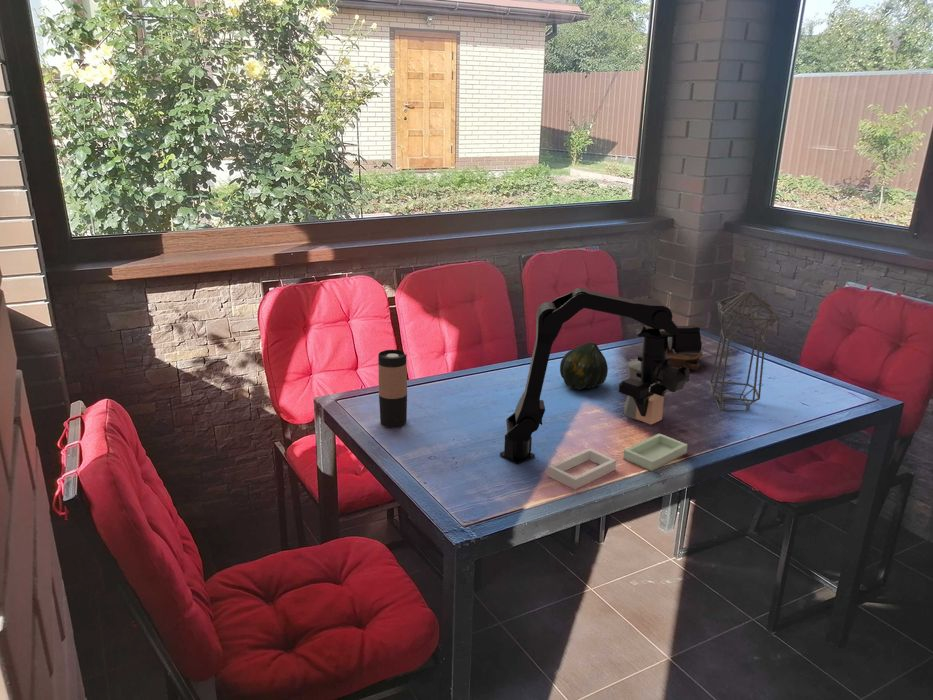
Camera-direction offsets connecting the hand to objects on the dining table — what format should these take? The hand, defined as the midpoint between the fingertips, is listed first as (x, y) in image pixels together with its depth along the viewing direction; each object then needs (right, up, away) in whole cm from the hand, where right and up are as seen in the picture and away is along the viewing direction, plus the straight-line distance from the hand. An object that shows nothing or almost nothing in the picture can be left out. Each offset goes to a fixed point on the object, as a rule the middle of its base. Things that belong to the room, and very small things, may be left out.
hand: (649, 413), depth 181 cm
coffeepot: (+5, -3, +29) cm, 30 cm away
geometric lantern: (+34, -1, +37) cm, 50 cm away
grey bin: (-17, -14, -3) cm, 22 cm away
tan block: (0, -1, 0) cm, 2 cm away
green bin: (+3, -11, +6) cm, 13 cm away
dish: (+26, +11, +72) cm, 78 cm away
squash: (-8, +4, +51) cm, 52 cm away
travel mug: (-65, -5, +22) cm, 69 cm away
